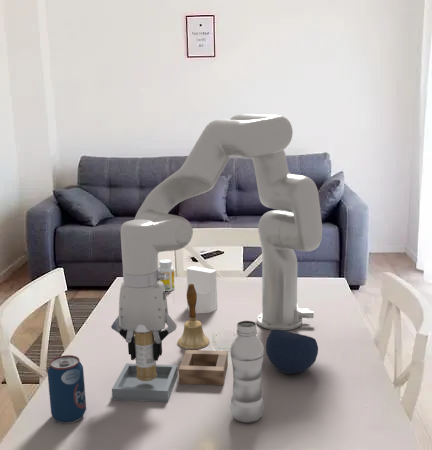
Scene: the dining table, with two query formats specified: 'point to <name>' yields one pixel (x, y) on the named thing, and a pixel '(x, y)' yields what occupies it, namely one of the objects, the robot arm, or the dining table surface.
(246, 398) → the plastic bottle
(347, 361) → the dining table surface
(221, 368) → the holder block
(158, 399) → the tray
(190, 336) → the hand bell
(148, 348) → the sprinkles bottle
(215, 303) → the white upright carton
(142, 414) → the dining table surface
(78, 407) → the soda can
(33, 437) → the dining table surface
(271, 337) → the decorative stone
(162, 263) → the supplement bottle
